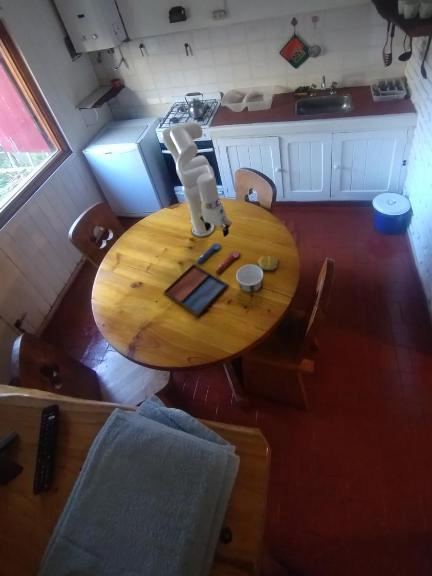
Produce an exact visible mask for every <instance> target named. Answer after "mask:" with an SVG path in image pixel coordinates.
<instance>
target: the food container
mask: <svg viewBox="0 0 432 576" xmlns="http://www.w3.org/2000/svg"><path fill="white" fill-rule="evenodd" d="M235 278H236V281H238V282H239V285H240V286H241V289H242V290H243V291H245V292H247V293H253V292H256V291H258V290H259V289H260V288H261V286H262V281H263V278H264V271H263V269H262V268H261V267H260V266H259V265H256V264H245V265H242V266H241V267H240V268H238V270H237V271H236V276H235Z"/></svg>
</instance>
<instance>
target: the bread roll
mask: <svg viewBox="0 0 432 576" xmlns="http://www.w3.org/2000/svg"><path fill="white" fill-rule="evenodd" d="M278 261H279V260H278V259H277V257H276V256H274V255H269V256H268V255H261V257H259V259H258V261H257V262H258V263H257V264H258V267H260V268H261V269H262V271H263V270H264V271H274V270H275V269H276V268H277V267H278Z"/></svg>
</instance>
